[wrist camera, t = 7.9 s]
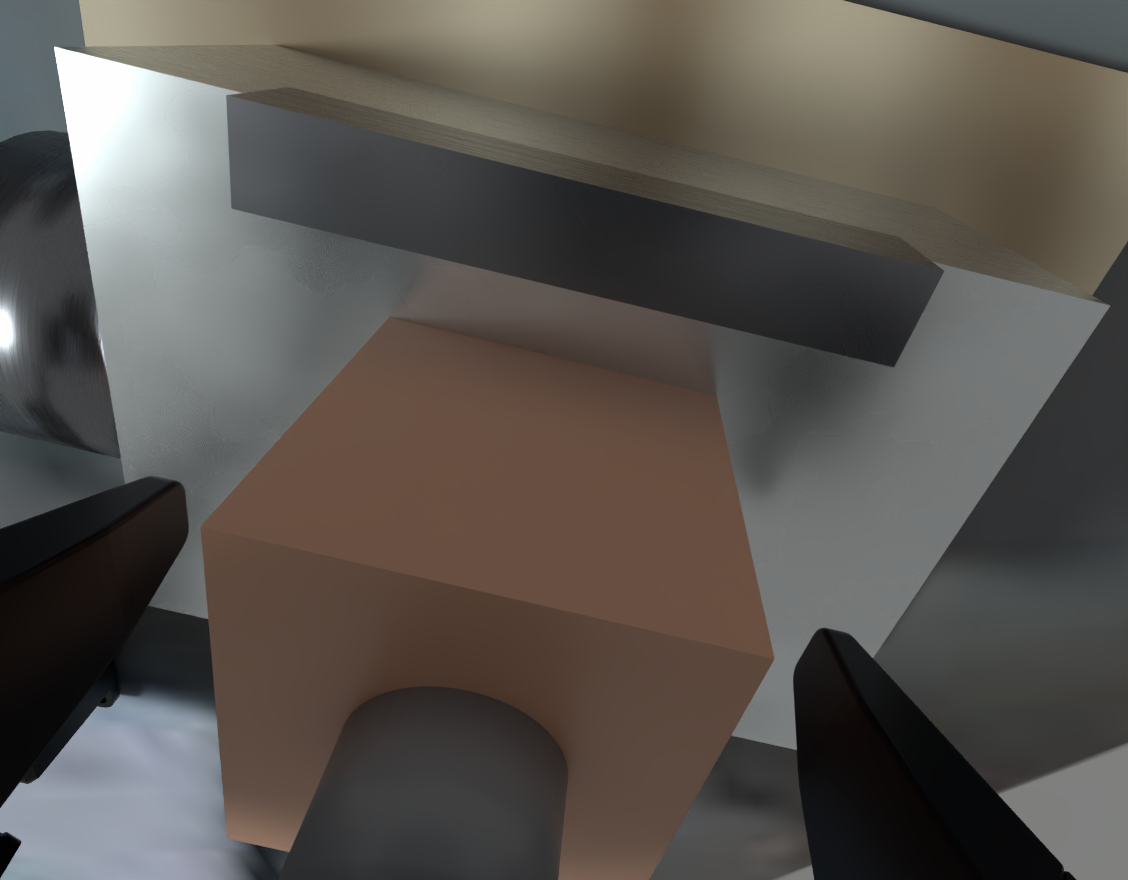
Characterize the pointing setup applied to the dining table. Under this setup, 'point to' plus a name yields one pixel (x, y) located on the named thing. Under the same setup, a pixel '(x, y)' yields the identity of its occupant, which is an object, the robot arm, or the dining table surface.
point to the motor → (512, 303)
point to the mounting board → (749, 93)
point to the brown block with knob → (480, 618)
